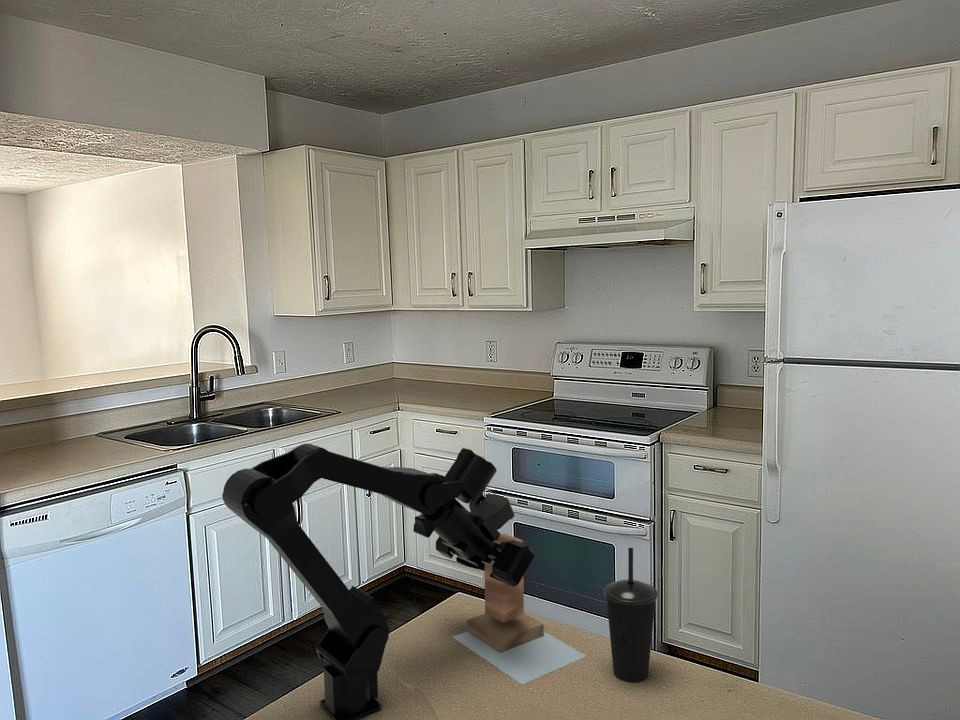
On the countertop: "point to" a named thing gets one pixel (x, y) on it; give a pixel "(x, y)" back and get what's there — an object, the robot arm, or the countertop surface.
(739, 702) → the countertop surface
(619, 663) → the drinking cup
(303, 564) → the robot arm
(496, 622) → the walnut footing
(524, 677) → the board
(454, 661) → the countertop surface
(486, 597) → the terracotta pillar
